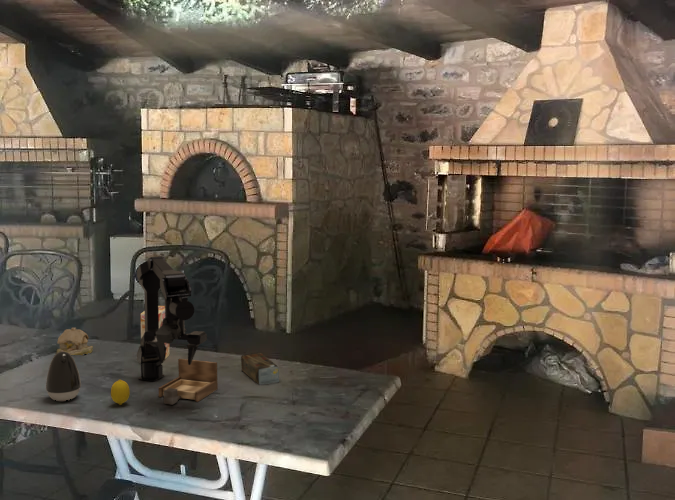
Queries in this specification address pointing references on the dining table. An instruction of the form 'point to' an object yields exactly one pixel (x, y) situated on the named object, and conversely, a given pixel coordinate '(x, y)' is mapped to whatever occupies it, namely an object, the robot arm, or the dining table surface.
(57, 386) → the brown tapered dome
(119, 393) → the lemon
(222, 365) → the dining table surface
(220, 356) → the dining table surface
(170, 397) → the wooden drawer
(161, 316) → the coffeecake box
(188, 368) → the open wooden box
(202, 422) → the dining table surface
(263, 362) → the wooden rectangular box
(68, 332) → the ceramic model
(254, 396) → the dining table surface
